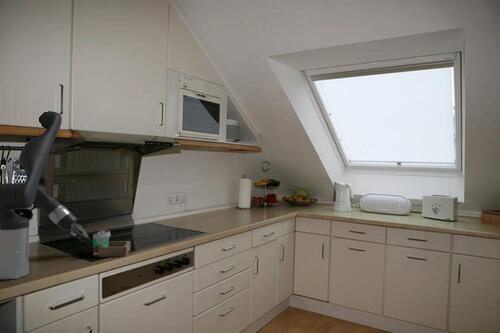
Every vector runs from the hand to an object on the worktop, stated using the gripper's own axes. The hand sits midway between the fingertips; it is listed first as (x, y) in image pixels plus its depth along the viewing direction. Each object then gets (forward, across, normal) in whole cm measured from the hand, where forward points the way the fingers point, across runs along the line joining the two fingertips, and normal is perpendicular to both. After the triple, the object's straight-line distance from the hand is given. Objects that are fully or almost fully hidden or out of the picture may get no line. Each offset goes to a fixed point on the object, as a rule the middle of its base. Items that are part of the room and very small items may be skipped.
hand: (92, 244), depth 156 cm
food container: (+6, 0, 0) cm, 7 cm away
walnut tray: (+10, 0, -4) cm, 11 cm away
